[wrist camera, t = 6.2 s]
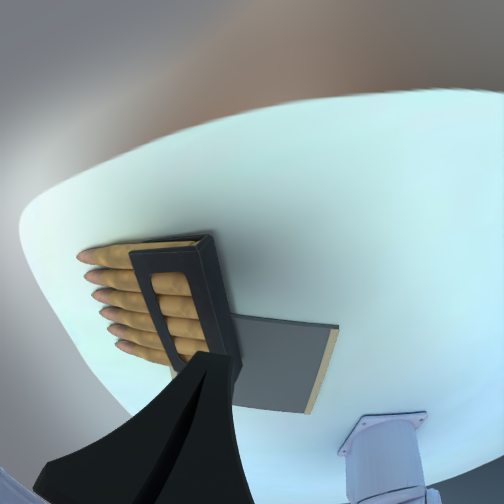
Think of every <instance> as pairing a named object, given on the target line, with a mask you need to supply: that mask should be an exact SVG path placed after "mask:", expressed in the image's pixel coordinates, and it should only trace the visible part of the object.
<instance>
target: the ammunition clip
mask: <svg viewBox="0 0 504 504" xmlns="http://www.w3.org/2000/svg"><path fill="white" fill-rule="evenodd" d="M76 258H77V259H78V260H79V261H81V262H83V263H86V264H91V265H100V266H106V267H109V268H115V269H107V270H94V271H91V272H88V273H86V274H85V275H84V278H85V279H86V280H87V281H89V282H91V283H94V284H97V285H103V286H107V287H113V288H115V289H118V290H98V291H95V292H93V293H92V294H91V296H92V297H93V298H94V299H96V300H97V301H99V302H102V303H105V304H109V305H113V306H117V307H121V308H106V309H102V310H100V311H99V313H100V314H101V315H102V316H103V317H104V318H106V319H108V320H111V321H114V322H117V323H121V324H124V325H113V326H109V327H107V330H108V331H109V332H110V333H111V334H113V335H115V336H117V337H119V338H122V339H126V340H129V341H119V342H116V343H115V346H116V347H117V348H119V349H120V350H122V351H124V352H126V353H128V354H132V355H135V356H137V357H141V358H143V359H145V360H147V361H150V362H153V363H158V364H162V365H166V366H171V367H172V368H173V370H174V371H175V372H180V371H181V370H182V369H183V368H184V366H185V365H186V364H187V363H188V361H189V360H190V359H191V358H192V356H193V355H194V354H195V352H197V351H198V350H199V351H205V352H211V353H216V354H222V355H229V356H232V357H233V358H235V377H234V384H235V383H236V381H237V378H238V376H239V374H240V372H241V369H242V367H243V364H242V360H241V356H240V352H239V348H238V344H237V340H236V336H235V332H234V328H233V324H232V320H231V315H230V311H229V307H228V303H227V298H226V294H225V290H224V285H223V281H222V277H221V272H220V268H219V263H218V259H217V254H216V250H215V245H214V240H213V237H212V236H211V235H209V234H206V235H197V236H187V237H177V238H168V239H159V240H149V241H144V242H142V243H140V244H120V245H110V246H107V247H104V248H97V249H89V250H86V251H83V252H81V253H79V254H78V255H77V256H76ZM126 325H128V326H126Z"/></svg>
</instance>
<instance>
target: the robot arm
mask: <svg viewBox="0 0 504 504" xmlns="http://www.w3.org/2000/svg"><path fill="white" fill-rule="evenodd" d="M234 377H235V358H233V357H232V356H229V355H222V354H216V353H211V352H205V351H199V350H198V351H197V352H195V354H194V355H193V356H192V358H191V359H190V360H189V361H188V363H187V364H186V365H185V366H184V368H183V369H182V370H181V371H180V372H179V373H178V374H177V376H176V377H175V378H174V379H173V380H172V381H171V382H170V383H169V384H168V385H167V386H166V387H165V388H164V389H163V390H162V391H161V392H160V393H159V394H158V395H157V396H156V397H155V398H154V399H153V400H152V401H151V402H150V403H149V404H148V405H147V406H145V407H144V408H143V409H142V410H141V411H140V412H138V413H137V414H136V415H135V416H133V417H132V418H131V419H130V420H128V421H127V422H126V423H124V424H123V425H121V426H120V427H118V428H117V429H115V430H114V431H112V432H111V433H109V434H108V435H106V436H105V437H103V438H102V439H99V440H98V441H96V442H94V443H92V444H90V445H88V446H86V447H84V448H82V449H80V450H78V451H76V452H74V453H71V454H69V455H66V456H63V457H61V458H58V459H56V460H53V461H50V462H47V464H46V465H45V467H44V468H43V469H42V471H41V473H40V475H39V476H38V478H37V480H36V482H35V484H34V486H33V491H34V492H35V493H37V494H38V495H39V496H41V497H42V498H43V499H45V500H46V501H48V502H49V503H51V504H255V503H254V501H253V498H252V495H251V492H250V489H249V486H248V483H247V480H246V477H245V474H244V470H243V467H242V463H241V459H240V455H239V450H238V446H237V441H236V435H235V429H234V422H233V414H232V400H233V393H234ZM427 416H428V415H427V413H426V412H424V413H414V414H402V415H385V416H365V417H362V418H361V420H360V421H359V423H358V424H357V426H356V427H355V429H354V430H353V432H352V433H351V435H350V436H349V438H348V439H347V441H346V442H345V443H344V445H343V446H342V448H341V449H340V451H339V452H338V456H345V458H346V494H347V498H348V500H349V501H350V503H351V504H442V503H441V498H440V494H439V491H437V490H434V489H433V488H431V489H429V490H427V489H426V487H425V481H424V475H423V469H422V463H421V457H420V452H419V447H418V442H417V437H416V433H415V430H416V429H417V428H418V427H419V426H420V425H421V424H422V422H423V421H424V420H425V419H426V418H427ZM0 504H47V503H46V502H44V501H43V500H41V499H40V498H38V497H37V496H36V495H34V494H33V493H32V492H30V491H29V490H27V489H26V488H25V487H23V486H22V485H21V484H20V483H18V482H17V481H16V480H15V479H13V478H12V477H11V476H10V475H9V474H7V473H6V472H5V470H4V469H3V468H2V467H1V466H0Z"/></svg>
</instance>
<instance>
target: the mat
mask: <svg viewBox="0 0 504 504" xmlns="http://www.w3.org/2000/svg"><path fill="white" fill-rule="evenodd" d="M230 315H231V320H232V324H233V328H234V332H235V336H236V340H237V344H238V348H239V352H240V356H241V360H242V364H243V367H242V369H241V372H240V374H239V376H238V378H237V381H236V383H235V384H234V393H233V400H232V405H235V406H241V407H248V408H256V409H264V410H272V411H282V412H293V413H304V414H310V413H311V411H312V408H313V406H314V403H315V400H316V398H317V395H318V392H319V390H320V387H321V384H322V381H323V379H324V376H325V373H326V370H327V367H328V364H329V361H330V358H331V355H332V352H333V349H334V346H335V343H336V340H337V336H338V333H339V326H337V325H325V324H314V323H303V322H293V321H284V320H275V319H267V318H258V317H250V316H243V315H235V314H230ZM169 367H170V372H171V376H172V380H173V379H174V378H175V377H176V376H177V374H178V373H179V372H175V371H174V370H173V368H172V367H171V366H169Z"/></svg>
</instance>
